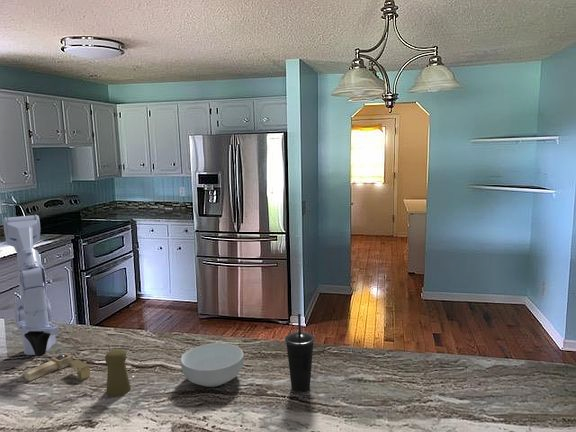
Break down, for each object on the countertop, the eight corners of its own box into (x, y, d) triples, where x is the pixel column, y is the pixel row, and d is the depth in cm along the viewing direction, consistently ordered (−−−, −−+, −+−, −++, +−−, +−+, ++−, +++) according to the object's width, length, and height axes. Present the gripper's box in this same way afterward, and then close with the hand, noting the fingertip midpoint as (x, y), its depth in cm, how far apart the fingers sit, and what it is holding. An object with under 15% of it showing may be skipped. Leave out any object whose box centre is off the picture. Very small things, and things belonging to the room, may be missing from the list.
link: (65, 360, 132) (64, 352, 132) (73, 363, 130) (72, 355, 129) (23, 377, 122) (22, 369, 122) (31, 381, 120) (30, 373, 119)
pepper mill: (122, 397, 113) (119, 357, 111) (101, 395, 114) (97, 355, 112) (135, 385, 119) (132, 346, 117) (115, 383, 120) (111, 345, 118)
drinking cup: (318, 382, 118) (317, 310, 115) (310, 397, 111) (309, 321, 108) (291, 378, 120) (289, 307, 118) (282, 392, 113) (280, 318, 110)
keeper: (90, 380, 122) (89, 365, 121) (82, 383, 120) (80, 368, 119) (78, 373, 126) (77, 358, 125) (70, 376, 124) (68, 362, 123)
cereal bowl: (255, 371, 125) (254, 347, 124) (223, 401, 110) (221, 375, 109) (205, 360, 132) (204, 338, 131) (169, 388, 117) (167, 363, 116)
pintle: (61, 366, 130) (60, 354, 130) (67, 366, 130) (66, 354, 130) (58, 369, 128) (56, 356, 128) (64, 369, 128) (62, 356, 128)
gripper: (4, 311, 125) (10, 356, 126) (41, 317, 119) (46, 365, 121) (28, 303, 131) (32, 346, 133) (63, 309, 125) (67, 354, 127)
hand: (40, 354), depth 127 cm, fingers closed
